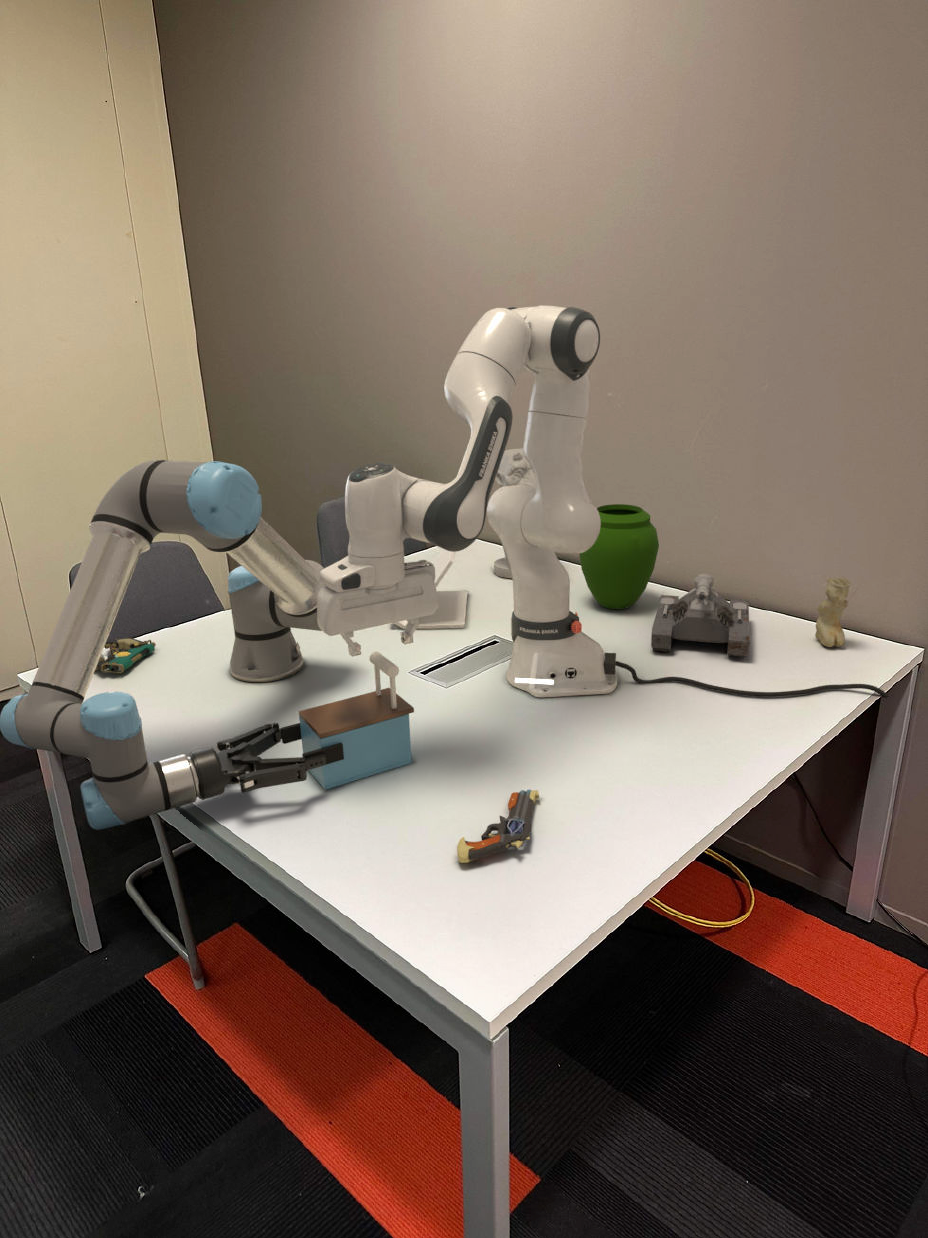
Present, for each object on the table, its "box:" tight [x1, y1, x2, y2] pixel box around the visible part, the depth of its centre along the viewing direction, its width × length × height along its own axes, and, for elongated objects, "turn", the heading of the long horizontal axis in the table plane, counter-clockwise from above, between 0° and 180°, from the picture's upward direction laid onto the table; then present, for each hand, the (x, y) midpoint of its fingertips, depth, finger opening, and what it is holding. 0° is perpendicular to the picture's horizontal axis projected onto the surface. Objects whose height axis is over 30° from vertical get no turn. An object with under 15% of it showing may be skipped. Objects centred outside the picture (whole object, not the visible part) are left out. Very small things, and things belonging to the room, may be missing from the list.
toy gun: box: [456, 789, 540, 864], centre depth 125 cm, size 3×19×10 cm
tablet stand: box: [393, 548, 468, 630], centre depth 211 cm, size 18×25×17 cm
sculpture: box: [814, 576, 852, 648], centre depth 185 cm, size 6×7×15 cm
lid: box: [298, 651, 415, 739], centre depth 140 cm, size 17×10×9 cm, turn 120°
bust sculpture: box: [486, 447, 536, 579], centre depth 231 cm, size 16×24×35 cm
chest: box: [298, 714, 413, 791], centre depth 143 cm, size 16×10×9 cm, turn 120°
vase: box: [578, 503, 660, 610], centre depth 210 cm, size 20×20×24 cm
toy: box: [650, 572, 751, 658], centre depth 190 cm, size 25×20×15 cm
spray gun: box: [95, 637, 157, 674], centre depth 189 cm, size 4×17×15 cm
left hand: (330, 738), depth 140 cm, fingers closed on chest, 9 cm apart
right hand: (381, 648), depth 140 cm, fingers open, 8 cm apart
